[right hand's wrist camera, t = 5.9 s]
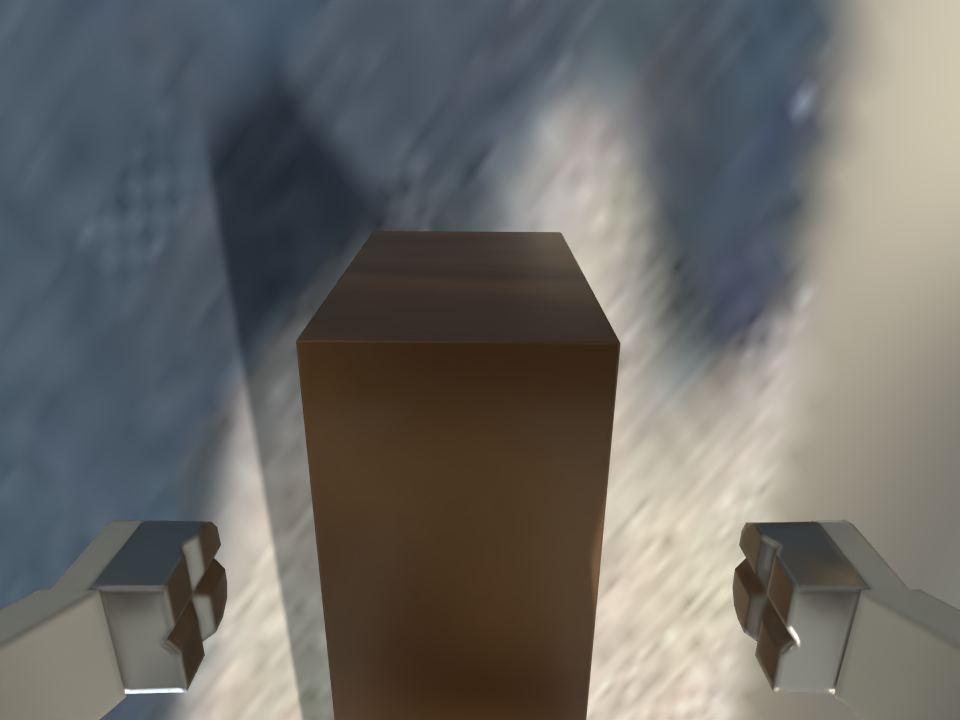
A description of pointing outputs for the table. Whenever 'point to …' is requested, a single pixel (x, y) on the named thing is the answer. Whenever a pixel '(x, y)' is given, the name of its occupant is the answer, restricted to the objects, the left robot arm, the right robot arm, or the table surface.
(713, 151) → the table surface
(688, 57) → the table surface
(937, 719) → the right robot arm
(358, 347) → the bar
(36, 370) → the table surface
